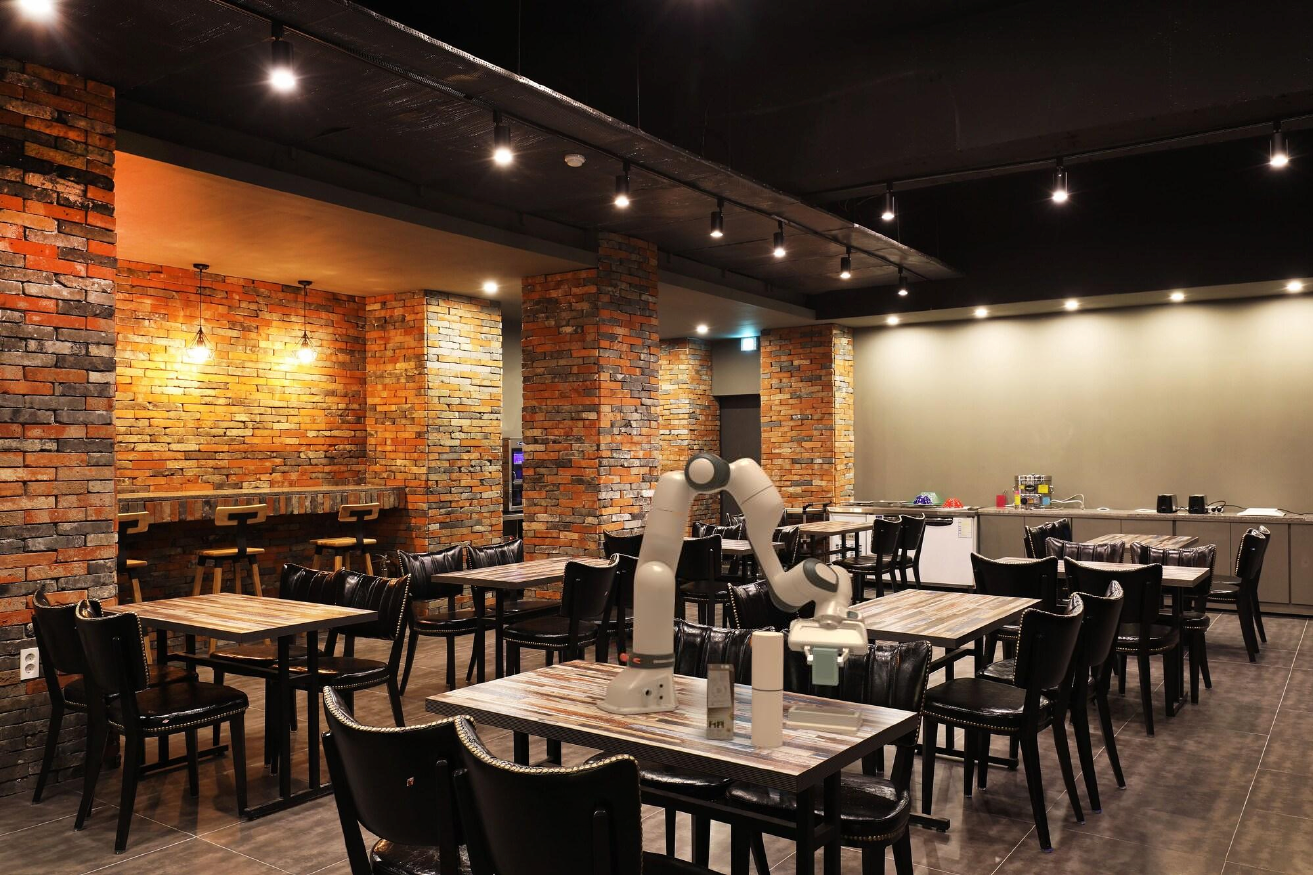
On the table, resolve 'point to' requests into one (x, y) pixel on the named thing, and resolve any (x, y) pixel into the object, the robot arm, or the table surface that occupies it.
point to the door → (824, 666)
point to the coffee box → (720, 701)
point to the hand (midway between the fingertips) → (824, 664)
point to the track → (824, 719)
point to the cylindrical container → (767, 689)
